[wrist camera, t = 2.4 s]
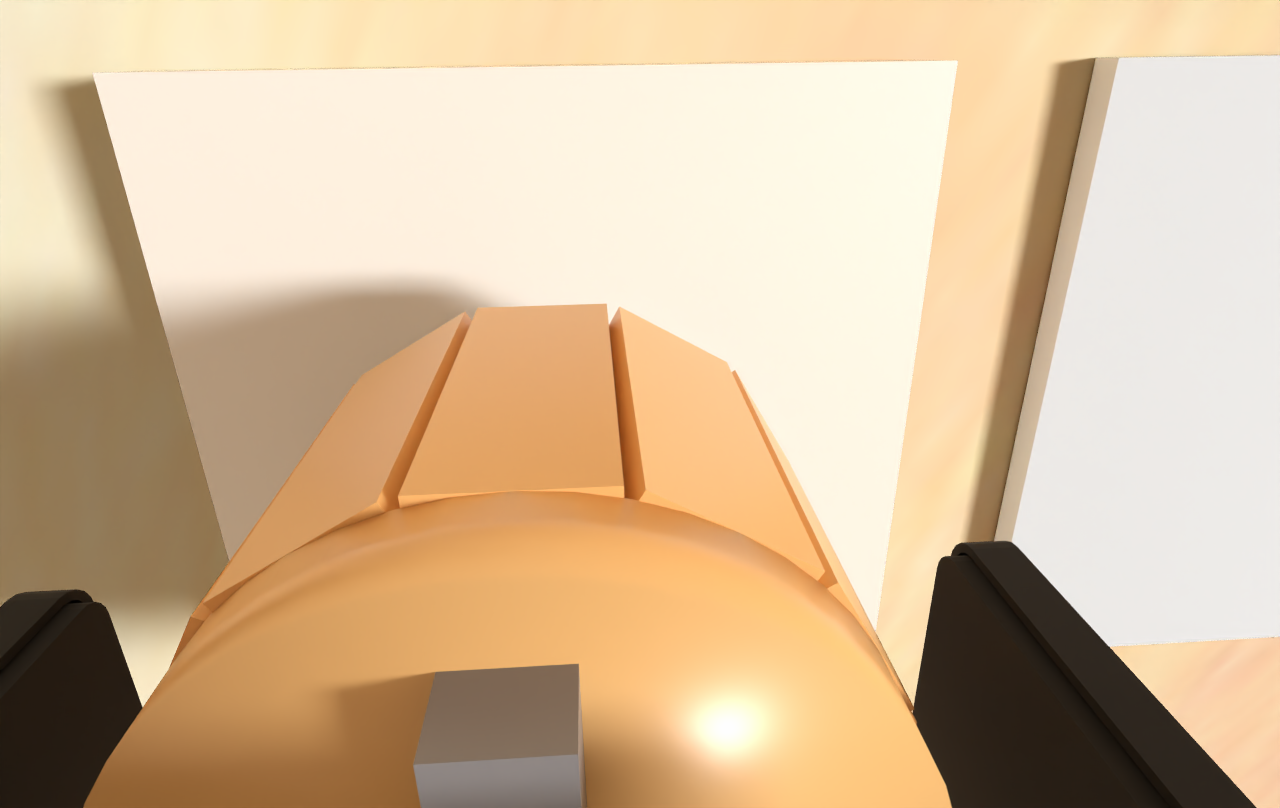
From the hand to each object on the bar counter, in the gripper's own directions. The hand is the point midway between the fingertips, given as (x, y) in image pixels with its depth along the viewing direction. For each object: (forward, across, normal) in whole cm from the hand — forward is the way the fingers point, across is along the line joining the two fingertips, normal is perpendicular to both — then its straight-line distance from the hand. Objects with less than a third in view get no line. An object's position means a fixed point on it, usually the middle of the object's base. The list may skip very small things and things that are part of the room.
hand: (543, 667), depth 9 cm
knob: (+2, 0, 0) cm, 2 cm away
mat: (+6, -15, 0) cm, 16 cm away
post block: (+6, 0, 0) cm, 6 cm away
